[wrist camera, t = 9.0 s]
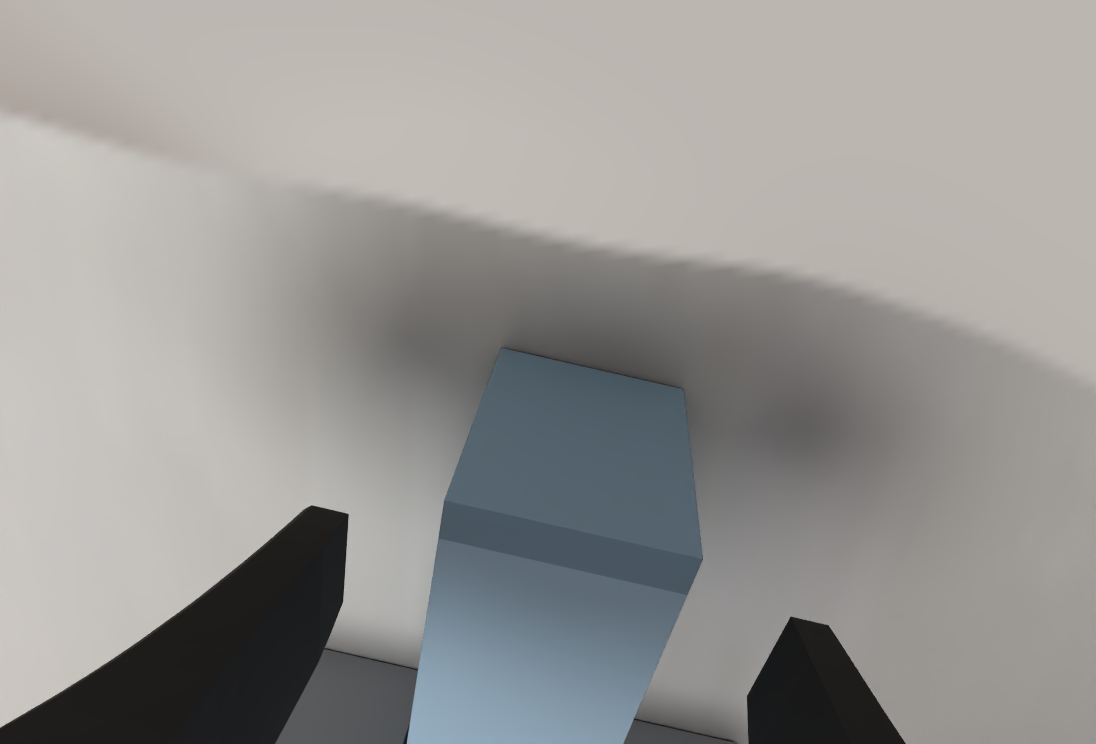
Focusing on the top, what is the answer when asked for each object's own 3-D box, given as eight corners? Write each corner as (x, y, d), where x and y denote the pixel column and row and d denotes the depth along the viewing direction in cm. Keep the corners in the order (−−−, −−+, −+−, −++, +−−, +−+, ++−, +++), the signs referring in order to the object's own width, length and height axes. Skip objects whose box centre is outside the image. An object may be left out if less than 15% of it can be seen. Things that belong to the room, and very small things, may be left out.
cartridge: (683, 389, 15) (702, 558, 10) (561, 738, 21) (541, 932, 17) (501, 347, 15) (443, 500, 10) (434, 710, 21) (383, 896, 17)
